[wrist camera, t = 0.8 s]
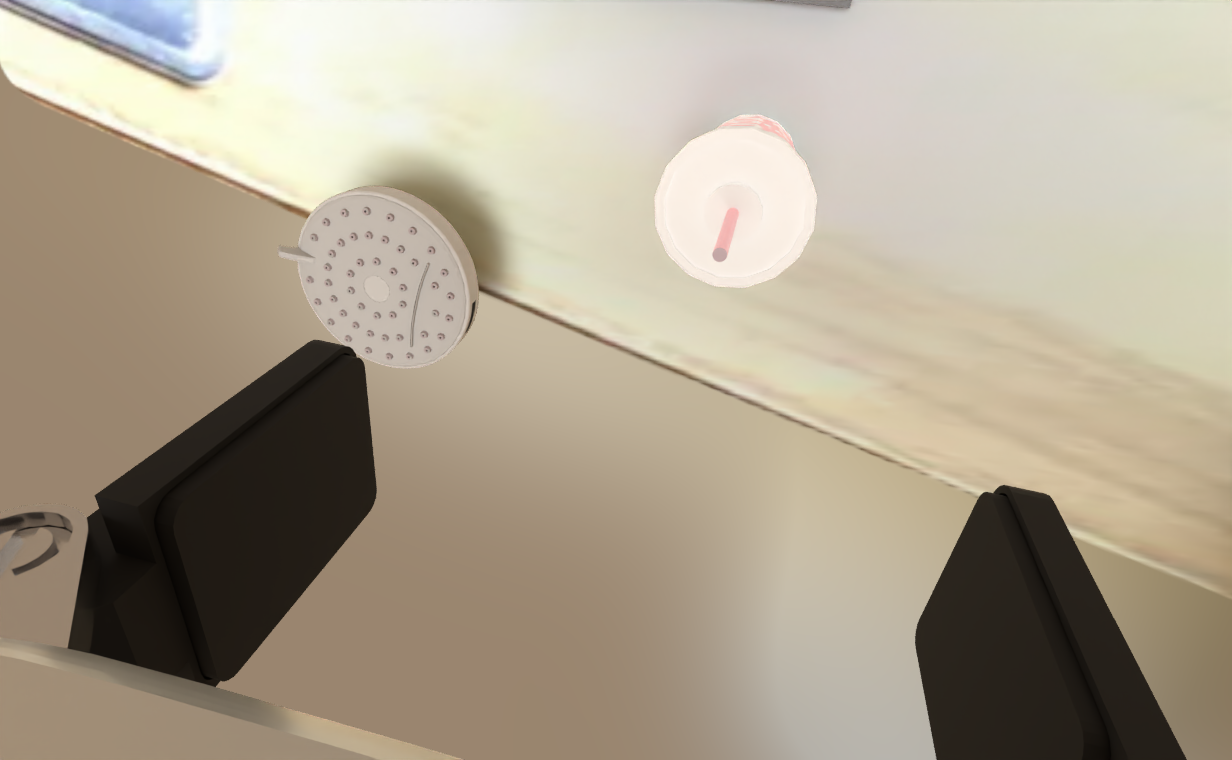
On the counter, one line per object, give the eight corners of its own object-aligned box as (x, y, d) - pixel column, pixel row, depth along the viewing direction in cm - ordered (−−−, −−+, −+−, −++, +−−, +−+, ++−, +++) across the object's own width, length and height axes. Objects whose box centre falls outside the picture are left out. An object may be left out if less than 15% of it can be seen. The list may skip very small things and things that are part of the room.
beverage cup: (830, 109, 31) (848, 177, 20) (793, 236, 35) (790, 361, 23) (700, 85, 32) (641, 136, 20) (675, 211, 35) (613, 319, 24)
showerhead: (279, 159, 31) (479, 245, 31) (365, 132, 37) (533, 204, 37) (267, 330, 36) (440, 405, 36) (345, 281, 42) (493, 345, 42)
